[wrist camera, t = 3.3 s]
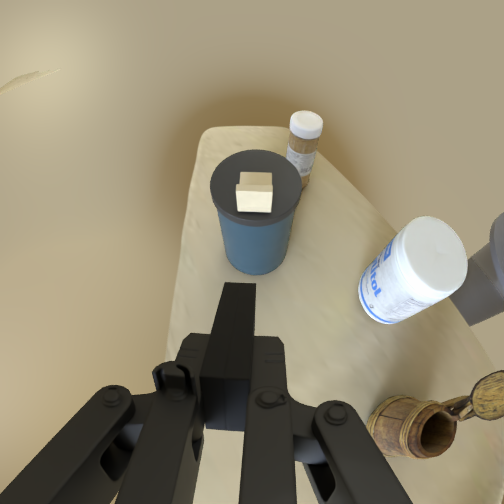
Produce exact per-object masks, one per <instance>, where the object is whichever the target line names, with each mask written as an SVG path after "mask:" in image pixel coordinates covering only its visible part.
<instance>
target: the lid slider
mask: <svg viewBox="0 0 504 504" xmlns="http://www.w3.org/2000/svg"><path fill="white" fill-rule="evenodd" d="M272 195H273V185H272V173H263V172H241V173H240V183H239V184H237V185H236V198H237V208H238V211H244V212H271V208H272Z"/></svg>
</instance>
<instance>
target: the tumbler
mask: <svg viewBox="0 0 504 504" xmlns="http://www.w3.org/2000/svg"><path fill="white" fill-rule="evenodd" d="M241 172H263V173H272V185H273V195H272V208H271V212H244V211H238V208H237V198H236V185H237V184H239V183H240V173H241ZM210 191H211V196H212V199H213V202H214V205H215V206H216V208H217V211H218V216H219V221H220V226H221V231H222V236H223V241H224V245H225V250H226V254H227V257H228V259H229V261H230V263H231V264H232V265H233V266H234V267H235V268H236V269H238V270H239V271H241V272H243V273H246V274H250V275H262V274H266V273H269V272H271V271H273V270H275V269H276V268H277V267H278V266H279V265H280V264H281V263H282V262H283V260H284V258H285V255H286V251H287V246H288V241H289V237H290V232H291V227H292V222H293V217H294V212H295V208H296V207H297V205H298V203H299V200H300V196H301V191H302V180H301V177H300V174H299V172H298V170H297V169H296V167H295V166H294V165H293V164H292V163H291V162H290V161H289V160H288V159H286V158H285V157H283V156H281V155H279V154H277V153H274V152H271V151H266V150H246V151H241V152H238V153H235V154H233V155H231V156H229V157H227V158H226V159H225V160H223V161H222V162H221V163H220V164H219V165H218V166H217V167H216V169H215V171H214V172H213V174H212V177H211V181H210Z"/></svg>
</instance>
